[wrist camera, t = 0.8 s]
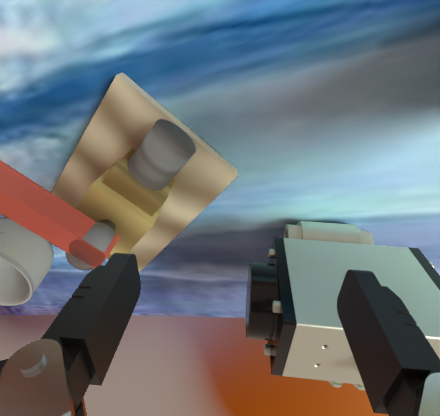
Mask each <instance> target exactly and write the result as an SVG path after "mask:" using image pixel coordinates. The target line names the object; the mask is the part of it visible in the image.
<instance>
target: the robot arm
mask: <svg viewBox="0 0 440 416" xmlns="http://www.w3.org/2000/svg"><path fill="white" fill-rule="evenodd" d="M140 289H141V282H140V276H139V270H138V264H137V259H136V256H135V254H126V253H114V254H113V255H112V256H111V257H110V259H109V261H108V262H107V264H106V265H105V266H101V265H99V266H97V267H96V268H95V269H93V270H92V271H91V272H90V273H88V274H87V275H86V276H85V278H84V279H83V281H82V282H81V283H80V285H79V288H77V289H76V290H75V292H74V293H73V295H72V298H70V299H69V300H68V302H67V303H66V305H65V306H64V307H63V309H62V310H61V312H60V313H59V314H58V316H57V317H56V319H55V320H54V321H53V323H52V324H51V326H50V327H49V329H48V330H47V332H46V333H45V334H44V335H43V337H42V338H41V339H40V340H36V341H33V342H31V343H29V344H26V345H25V346H23V347H22V348H20V349H19V350H17V351H16V352H15V353H14V354H13V355H12V356H11V357H10V358H9V359H6V360H2V361H0V416H87V413H86V408H85V402H84V398H83V397H84V394H85V392H86V390H87V388H88V386H89V384H91V385H102V382H103V380H104V378H105V375H106V373H107V371H108V368H109V366H110V364H111V361H112V359H113V357H114V354H115V352H116V350H117V347H118V345H119V343H120V340H121V338H122V336H123V333H124V331H125V329H126V326H127V324H128V322H129V319H130V317H131V315H132V312H133V310H134V308H135V305H136V303H137V301H138V298H139V295H140ZM337 312H338V316H339V319H340V321H341V324H342V327H343V330H344V332H345V335H346V338H347V341H348V343H349V346H350V349H351V352H352V354H353V357H354V360H355V363H356V365H357V368H358V371H359V373H360V376H361V379H362V382H363V384H364V387H365V390H366V393H367V395H368V398H369V401H370V403H371V406H372V409H373V412H374V413H382V414H388V415H389V416H440V359H439V357H438V356H437V354H436V352H435V351H434V349H433V348H432V346H431V345H430V343H429V342H428V340H427V338H426V337H425V335H424V334H423V332H422V331H421V329H420V328H419V326H417V325H416V324H417V323H416V321H415V320H414V318H413V317H412V315H410V314H409V311H408V309H407V307H406V306H405V304H404V303H403V301H402V300H401V298H400V297H398V296H397V295H396V294H395V293H394V292H393V291H392V290H391V289H389V288H388V287H386V286H381V284H380V283H379V281H378V279H377V278H376V276H375V274H374V273H373V272H372V271H365V270H348V271H347V272H346V275H345V278H344V280H343V283H342V286H341V289H340V292H339V295H338V298H337Z"/></svg>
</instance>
